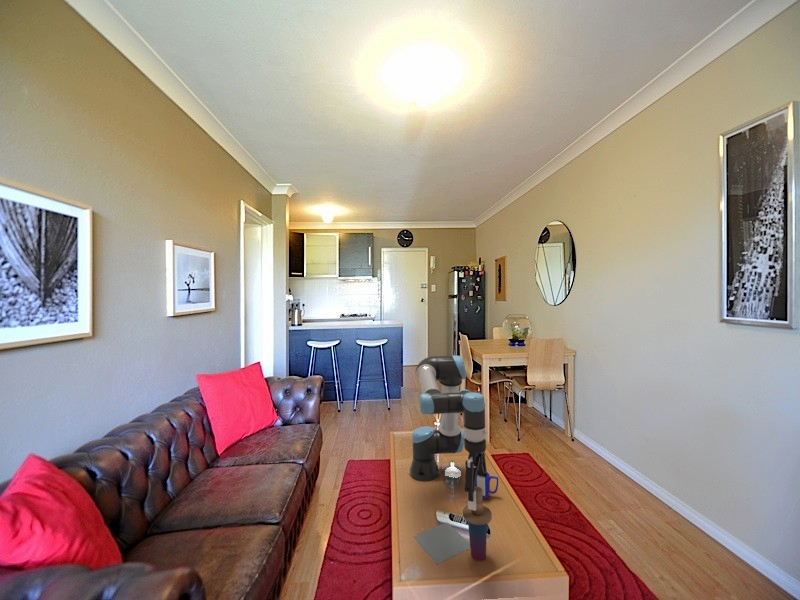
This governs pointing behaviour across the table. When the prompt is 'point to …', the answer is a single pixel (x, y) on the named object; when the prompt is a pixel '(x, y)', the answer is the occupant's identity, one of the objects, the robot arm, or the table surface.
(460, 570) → the table surface
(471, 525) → the cup
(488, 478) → the mug
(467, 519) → the lid
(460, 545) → the mat
